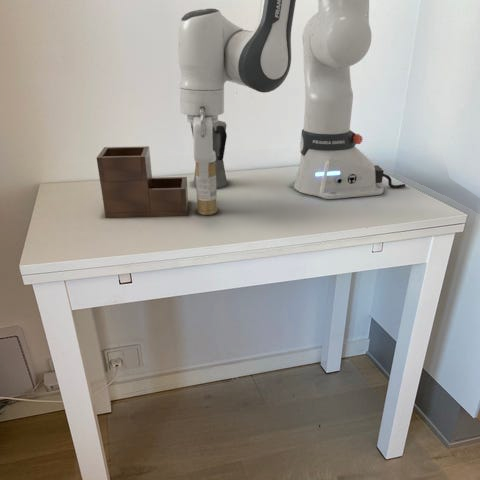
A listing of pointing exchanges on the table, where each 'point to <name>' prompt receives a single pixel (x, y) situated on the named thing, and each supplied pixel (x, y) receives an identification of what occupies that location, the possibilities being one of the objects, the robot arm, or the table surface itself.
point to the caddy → (138, 185)
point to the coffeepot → (218, 152)
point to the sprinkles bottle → (207, 189)
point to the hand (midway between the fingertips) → (203, 172)
